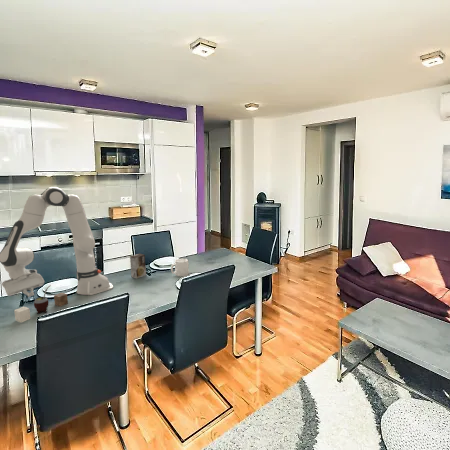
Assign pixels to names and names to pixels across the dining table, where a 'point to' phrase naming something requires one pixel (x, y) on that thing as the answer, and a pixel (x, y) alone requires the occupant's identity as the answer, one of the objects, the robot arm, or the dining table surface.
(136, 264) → the coffee box
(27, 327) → the dining table surface
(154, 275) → the dining table surface
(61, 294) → the walnut block
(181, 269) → the mug
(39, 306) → the mate gourd
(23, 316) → the off-white block
